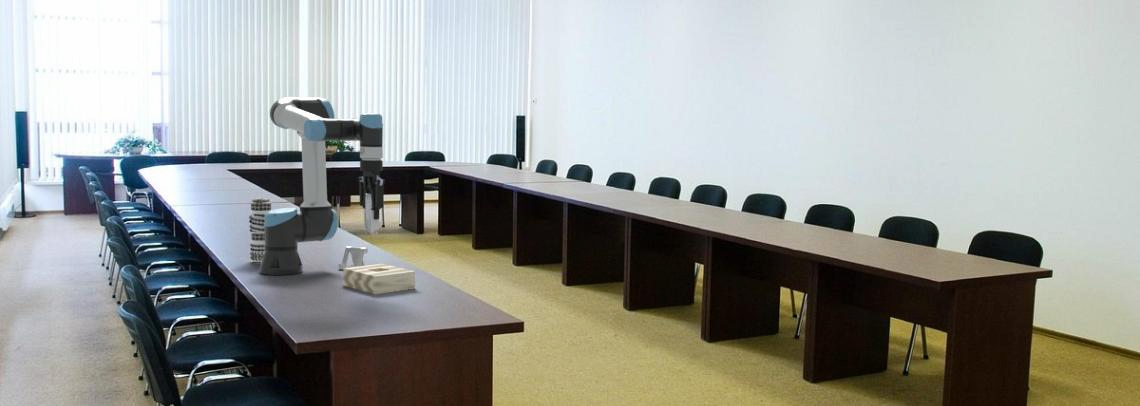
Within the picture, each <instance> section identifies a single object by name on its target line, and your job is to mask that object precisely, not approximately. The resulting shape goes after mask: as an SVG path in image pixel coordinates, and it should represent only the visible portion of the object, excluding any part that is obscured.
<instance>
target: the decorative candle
mask: <svg viewBox="0 0 1140 406" xmlns="http://www.w3.org/2000/svg"><path fill="white" fill-rule="evenodd" d="M272 210H273V209H272V201H271V200H270V199H269V198H267V197H256V198H253V199H252V200H251V201H250V215H249V216H248V219H249V221H248V223H250V225H249V228H250V229H249V233H251V238H250V244H249V246H250V251H251V252H250V253H249V254H250V257H249V258H250V259H251V260H250V263H252V262H262V259H263V256H264V253H265V232H264V222H265V214H266V213H267V212H269V211H272Z"/></svg>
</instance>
